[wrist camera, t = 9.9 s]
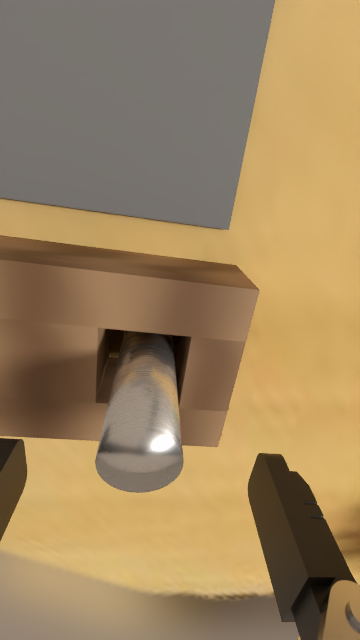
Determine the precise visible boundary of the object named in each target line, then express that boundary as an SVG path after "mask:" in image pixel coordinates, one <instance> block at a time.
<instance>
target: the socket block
mask: <svg viewBox="0 0 360 640" xmlns="http://www.w3.org/2000/svg"><path fill="white" fill-rule="evenodd" d="M258 294H259V289H258V288H257V287H256V286H255V285H254V284H253V283H252V282H251V280H250V279H249V278H248V277H247V276H246V275H245V274H244V273H243V272H242V271H241V270H240V269H239V268H238V267H237V266H236V265H229V264H221V263H213V262H205V261H197V260H190V259H182V258H174V257H166V256H158V255H150V254H142V253H134V252H126V251H119V250H111V249H103V248H95V247H87V246H79V245H71V244H63V243H56V242H48V241H40V240H32V239H24V238H16V237H8V236H0V436H14V437H33V438H52V439H72V440H91V441H100V438H101V433H102V429H103V425H104V420H105V416H106V411H107V407H108V403H109V398H110V394H111V390H112V385H113V381H114V376H115V372H116V368H117V363H118V358H109V340H110V329H116V330H126V331H137V332H147V333H158V334H168V335H178V336H179V341H178V347H177V353H176V360H175V372H176V383H177V394H178V405H179V417H180V428H181V439H182V445H187V446H206V447H218V444H219V441H220V437H221V433H222V429H223V426H224V422H225V418H226V414H227V410H228V407H229V403H230V399H231V395H232V392H233V388H234V384H235V380H236V377H237V373H238V369H239V365H240V362H241V358H242V354H243V350H244V347H245V343H246V339H247V335H248V331H249V328H250V324H251V320H252V316H253V313H254V309H255V305H256V301H257V298H258Z"/></svg>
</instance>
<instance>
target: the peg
mask: <svg viewBox="0 0 360 640" xmlns="http://www.w3.org/2000/svg"><path fill="white" fill-rule="evenodd" d="M95 463H96V469H97V472H98V474H99V475H100V477H101V478H102V479H103V480H104V481H105V482H106V483H108V484H109V485H111V486H113V487H115V488H117V489H120V490H123V491H127V492H136V493H139V492H150V491H154V490H158V489H160V488H163V487H165V486H167V485H168V484H170V483H171V482H172V481H174V480H175V479H176V478H177V477H178V475H179V474H180V472H181V470H182V467H183V450H182V439H181V428H180V417H179V405H178V394H177V383H176V372H175V360H174V349H173V338H172V335H168V334H158V333H147V332H137V331H126V330H125V333H124V337H123V341H122V346H121V350H120V354H119V359H118V363H117V368H116V372H115V376H114V381H113V385H112V390H111V394H110V398H109V403H108V407H107V411H106V416H105V420H104V425H103V429H102V433H101V438H100V442H99V446H98V451H97V455H96V461H95Z"/></svg>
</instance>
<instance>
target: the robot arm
mask: <svg viewBox="0 0 360 640" xmlns="http://www.w3.org/2000/svg"><path fill="white" fill-rule="evenodd" d="M26 478H27V464H26V456H25V447H24V441H23V440H22V439H4V438H0V541H1V539H2V536H3V534H4V532H5V530H6V528H7V525H8V523H9V521H10V519H11V516H12V514H13V512H14V510H15V508H16V505H17V503H18V501H19V499H20V496H21V494H22V492H23V489H24V486H25V483H26ZM248 497H249V502H250V505H251V509H252V513H253V516H254V520H255V524H256V527H257V531H258V535H259V538H260V542H261V546H262V550H263V553H264V557H265V561H266V564H267V568H268V572H269V575H270V579H271V583H272V586H273V590H274V594H275V597H276V601H277V605H278V608H279V612H280V616H281V619H282V622H296V626H297V629H298V632H299V638H298V640H360V585H358V584H357V582H356V581H355V579H354V578H353V576H352V574H351V572H350V570H349V568H348V566H347V564H346V562H345V560H344V557H343V555H342V553H341V551H340V549H339V547H338V545H337V543H336V541H335V539H334V537H333V535H332V533H331V530H330V528H329V526H328V524H327V522H326V520H325V519H324V518H323V514H322V512H321V510H320V508H319V505H317V501H316V499H315V497H314V495H313V493H312V491H311V489H310V487H309V485H308V484H307V483H306V482H305V481H304V479H303V478H302V477H301V476H300V475H299V474H298V473H297V472H294V471H289V468H288V466H287V464H286V462H285V459H284V458H283V456H282V455H281V454H267V453H259V454H258V456H257V459H256V461H255V464H254V467H253V470H252V473H251V476H250V479H249V482H248Z"/></svg>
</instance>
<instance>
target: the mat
mask: <svg viewBox="0 0 360 640" xmlns="http://www.w3.org/2000/svg"><path fill="white" fill-rule="evenodd" d="M274 3H275V0H0V198H6V199H13V200H20V201H27V202H34V203H41V204H48V205H55V206H62V207H70V208H77V209H84V210H91V211H98V212H105V213H112V214H119V215H126V216H133V217H140V218H148V219H155V220H162V221H169V222H176V223H183V224H190V225H197V226H204V227H211V228H219V229H226V230H229V226H230V221H231V216H232V211H233V206H234V201H235V196H236V191H237V186H238V181H239V176H240V171H241V166H242V161H243V156H244V151H245V146H246V142H247V137H248V132H249V127H250V122H251V117H252V112H253V107H254V102H255V97H256V92H257V87H258V82H259V77H260V72H261V67H262V62H263V58H264V53H265V48H266V43H267V38H268V33H269V28H270V23H271V18H272V13H273V8H274Z"/></svg>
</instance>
